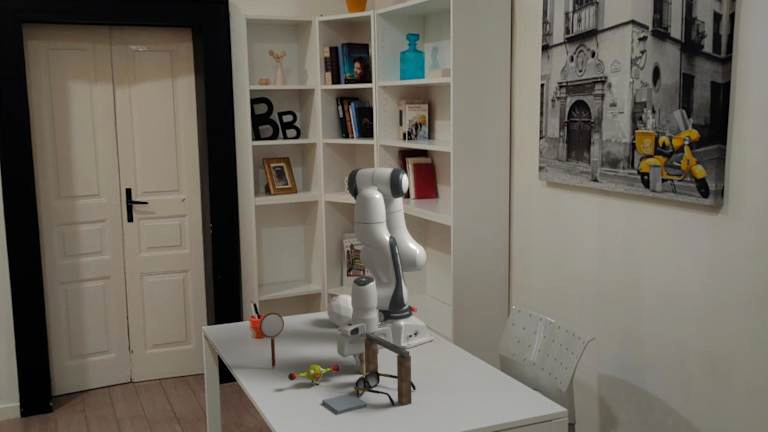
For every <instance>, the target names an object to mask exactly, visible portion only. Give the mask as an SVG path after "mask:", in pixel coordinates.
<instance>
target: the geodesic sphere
mask: <svg viewBox="0 0 768 432" xmlns="http://www.w3.org/2000/svg"><path fill="white" fill-rule="evenodd" d="M352 313H353V308H352V305H351V295H349V294H345V293H341V292H340V293H339V294H338V295H336V296H333V297H332V299H331V300H330V301H329V302H328V304H327V316H328V318H329V321H330V322H331V323H333V324H335V325H336V326H338V327H339V326H341V325H342V324H344V323H346V322H348V321H349V320H351V319H352Z"/></svg>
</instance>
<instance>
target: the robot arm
mask: <svg viewBox="0 0 768 432" xmlns="http://www.w3.org/2000/svg"><path fill="white" fill-rule="evenodd" d="M409 185H410V181H409V176H408V174H407V172H406V171H405V170H404V169H402V168H397V167H395V168H392V167H390V168H389V167H379V166H378V167H369V168H368V167H367V168H356V169H352V170H351V171H350V173H349V175H348V177H347V190H348V192H349V194H350V195H351V197H352V198H354V199H353V200H355V202H354V204H355V205H354V212H353V213H354V214H353V215H354V216H353V218H354V219H353V227H354V228H353V229H354V235H355V238H356V239H357V240H358V242H359V243H360V244H362V247H361V248H360V249H361V250H360V252H359V259H360V262H361V264H362V266H363V268H365V269H367V270H368V271H369V273H371V274H372V276H373V277H372V276H369V275H368V276H367V275H364V276H358V277H356V278H355V279H354V280H353V281H352V285H351V295H350V296H351V305H352V308H353V313H352V319H351V320H349V321H348V322H346V323H344V324H342V325H341V326H338V332H339V334H338V337H337V342H336V343H337V344H336V346H337V347H336V349H337V351H336V352H337V354H338V355H339V356H341V357H343V358H347V357H352V358H353V359H354V360H355V365H356V366H357V367H358V366H362V361H361V360H360V359H358V357H359V354H361V353H363V352H364V351H365V339H366V334H367V333H372V334H374V335H376V336H378V337H380V338H382V339H384V340H386V341H388V342H390V343H392V344H394V345H396V346H398V347H400V348H403V349H405V350H407V349H411V348H414V347H417V346H421V345H423V344H426V343H429V342H432V341H434V336H433V335H432V334H431V333H429V332H428V328H427V325H426V323H425V321H423V320H422V319H419V317H417V316H416V315H414V314H413V313H417V312H418V308H417V307H416V306H412V305H409V288H408V286H407V284H406V281H405V277H404V276H405V275H404V273H412V272H418V271H421V270H422V269H423V268H424V267H425V266H426V264H427V263H426V262H427V252H426V250H425V248H424V247H423V246H422V245H421V244H419V242H417V241H416V240H415V239H414V238H413V236H412V235H411V234H410V232H409V230H408V228H407V224H406V218H405V212H404V203H403V201H404V200H403V197H404V196H405V195H406V194H407V193H408V189H409ZM377 311H378V312H377ZM382 349H385V348H384V347H382V346H380V345H378V344H377V351H378V354H379V353H380V352H379V351H380V350H382Z"/></svg>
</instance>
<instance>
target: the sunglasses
mask: <svg viewBox="0 0 768 432" xmlns="http://www.w3.org/2000/svg"><path fill="white" fill-rule="evenodd" d="M380 377H384V378H392V379H396V380H397V375H393V374H388V373H381V372H379V370H378V371H376V370H373V371H370V372H368V373H366V374H362V376H360V377H359V378H358V379H357V380H355V385H354V386H353V388H354V390H355V391H356V395H357V396H362V395H364V393H365V392H366V393H367V392H368V393H372V394H378V395H386V396H387V397H388V399H389V401H390V404H391V405H392V406H393V407H394V406H395V401H394V399H393V398H392V396H391V395H390V394H389V393H388V392H384V391H380V390H376V389H372V388H373V387H376V386H377V385H379V384H380ZM366 387H369V388H366ZM411 389H412V390H414V391H416V390H417V388H416V385H415V384H414V382H413V381H412V380H411Z"/></svg>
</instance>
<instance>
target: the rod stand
mask: <svg viewBox="0 0 768 432" xmlns="http://www.w3.org/2000/svg"><path fill="white" fill-rule="evenodd" d="M378 354H379V353H378V351H377V344H376V343H374V342H372V341H370V340H368V339H365V374H366V373H368V372H370V371H373V370H376V371H378V372H379V362H378V361H379V360H378V358H379V355H378ZM411 359H412V357H411V355H409V357H406V358H404V357H402V356H400V355H398V354H397V355H396V365H397V366H396V368H397V369H396V371H397V373H396V374H397V375H396V376H397V379H396V380H397V403H398V404H400V405H402V406H406V405H407V406H408V405H411V404H412V386H411V381H412V360H411ZM365 374H364V375H365Z"/></svg>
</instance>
